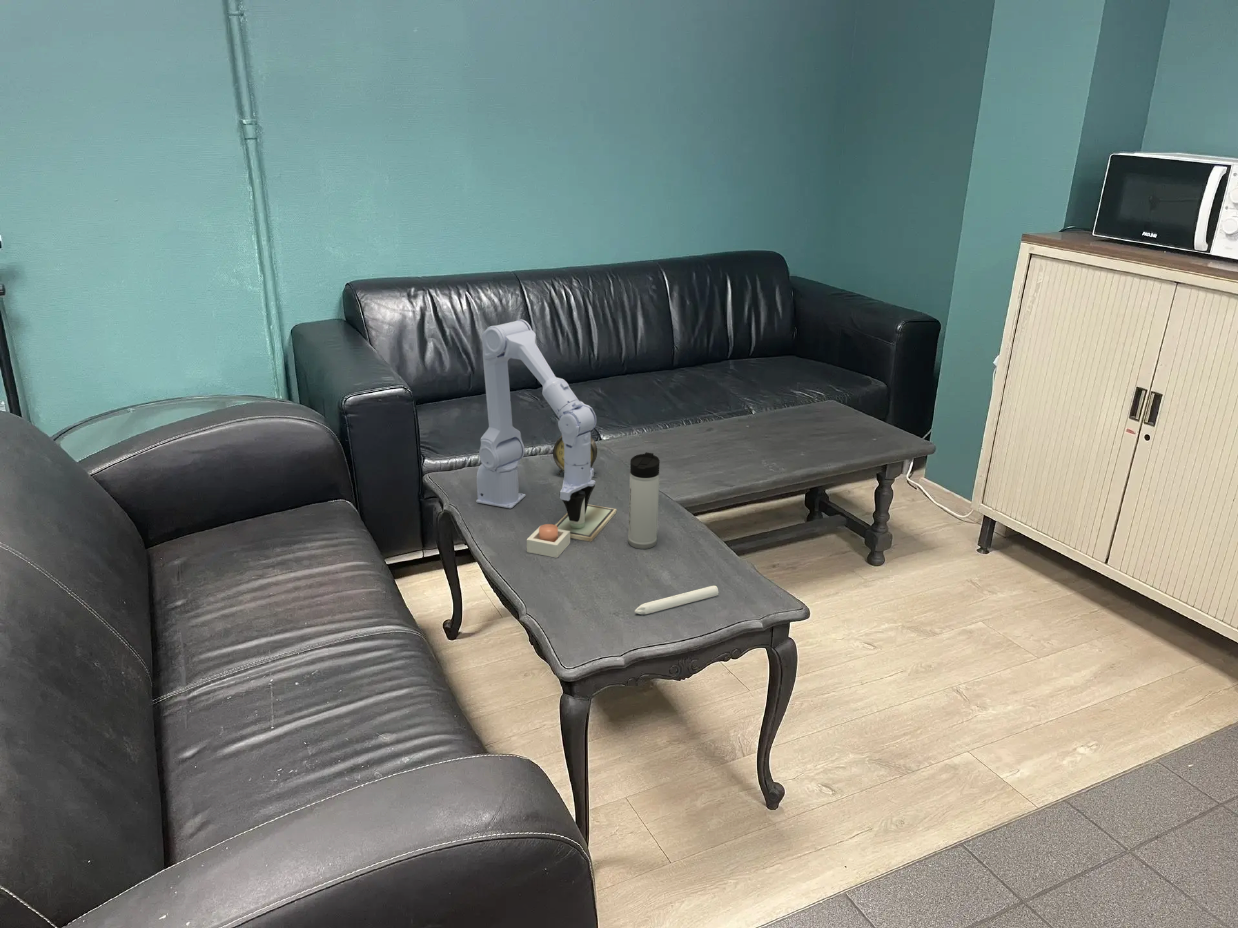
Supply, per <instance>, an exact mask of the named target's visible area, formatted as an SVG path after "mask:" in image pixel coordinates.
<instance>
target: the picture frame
mask: <svg viewBox="0 0 1238 928" xmlns="http://www.w3.org/2000/svg"><path fill="white" fill-rule="evenodd" d="M617 511H618V510H617V508H613V507H605V506H600V505H593V504H589V503H588V506H587V510H586V513H585V526H584V527H582V528H572V527H571V526H570V520H569V517H568V513H567V512H566V513H565V514H564V515H563V517H561V518H560V520H559V521H557V522H556V523H555V525H556V526H557V527H558V529H561V530H566V531H570V539H575V540H580V541H585V542H592V541H594V539H595V538H596V537H597V536H598V535H599V533H600V532H601V531H602V530H603V529H604V528H605V527H606V525H607V524H608V523H609V522H610V520H612V519H613V517H614V516H615V515H616V513H617Z"/></svg>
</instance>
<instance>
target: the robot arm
mask: <svg viewBox="0 0 1238 928" xmlns="http://www.w3.org/2000/svg"><path fill="white" fill-rule="evenodd" d="M536 338H537V335H536V332H535V331H534V330H533V329H532V327H531V325H530V324H529V322H528V321H526V320H524V319H517V320H515V321H510V322H505V323H501V324H497V325H491V326H488V327H487V328H486V329H485V330H484V331H483V332H482V333H481V340H482V341H481V343H482V360H483V370H484V371H483V374H484V383H485V384H484V385H485V386H484V387H485V395H486V398H485V399H486V406H487V408H486V409H487V419H488V420H487V421H488V428H487V429H486V430H485V432H484V433H483V435H482V436H481V437H480V447H479V451H478V453H479V454H478V456H479V460H480V463H481V464H480V465H479V467H478V468H477V473H476V490H477V491H476V493H477V495H476V496H477V499H476V500H475V501H476V503H477V504H482V505H489V506H493V507H494V506H495V507H500V508H505V509H513V507H515V506H516V505H517V504H518V503H519V502H521V501H522V500H523V499H524V498H525V497H526V494H525V493H519V492H520V491H519V468H518V467H519V465H520V464H521V460H522V459H523V457H524V456H525V452H526V451H525V445H524V443H523V439H522V434H521V431H520V430H519V429H517V428H515V427H514V426H513V415H512V414H513V413H512V402H511V391H510V377H509V362H508V361H509V360H510V359H513V360H520V361H521V362H522V363H523V364H524V365H525V366H526V367H527V369H528V370H529V371H530V372H531V373H532V375H533V376H534V377H535V379H537V381H538V382H539V383H540V384H541V385H542V391H541V392H542V393H541V394H542V396H543V398H544V399H545V401H546V403H547V404H548V405H549V406H550V408H551V410H552V411H553V412H554V413H555V415H556V416H557V418H558V421H557V426H558V429H559V431H560V433H561V436H562V440H563V442H564V471H563V473H564V476H563V477H564V478H563V481H562V488H561V489H560V491H559V499H560V500H562V502H563V505H564V506H565V509H566V513H568V517H569V520H570V521H575V522H578V521H579V519H580V514H581V507H582V503H583V500H584V498H585V513H586V510H587V506H588V504H589V500H590V498H591V495H592V493H593V491H594V489H595V487H596V480H594V479H592V478H594V476H595V473H594V472H595V470H594V467H591V468H590V465H591V437H592V436H591V433H592V432H591V431H592V430H594V429H595V428H596V425H597V415H596V413H595V410H594V409H593V407H591V406H590V405H589V404H585V403H584V402H583V401H582V400H579V399H578V397H577V396H576V394H575V392H574V391H573V390H572V389H571V387H570V385H569V383H568V382H567V381H566V380H565V379H563V378H561V377H557V376H556V374H554V371H553V370H552V369H551V366H550V365H549V364H548V362H547V360H546V359H545V357H544V355H543V353H542V352H541V350H540V349H539V347H538V345H537V343H536V341H537V340H536ZM578 490H582V491H584V492H585V494H579V492H578Z"/></svg>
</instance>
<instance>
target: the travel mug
mask: <svg viewBox="0 0 1238 928" xmlns="http://www.w3.org/2000/svg"><path fill="white" fill-rule="evenodd" d="M660 462H661V461H660V458H659V457H658V456H656V454H655V455H654V453H653V452H645V453H640V454H637V455H634V456H632V457H631V458H630V465H629V466H630V467H629V469H630V470H629V497H628V538H627V539H628V540H627V542H628V544H629V545H630V546H631V547H633V548H636V549H642V550H644V549H645V550H646V549H651V548H653V547H655V546H656V545H657V544H658V543H657V542H658V541H657V540H658V519H659V518H658V517H659V516H658V515H659V497H660V496H659V495H660V494H659V493H660V492H659V490H660Z"/></svg>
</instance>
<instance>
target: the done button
mask: <svg viewBox="0 0 1238 928" xmlns="http://www.w3.org/2000/svg"><path fill="white" fill-rule="evenodd" d="M538 528H539V540H544V541H550V542H555V541H556V540H557V539H558V527H557V526H556V524H552V523H545V524H541V525H539V527H538Z"/></svg>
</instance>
